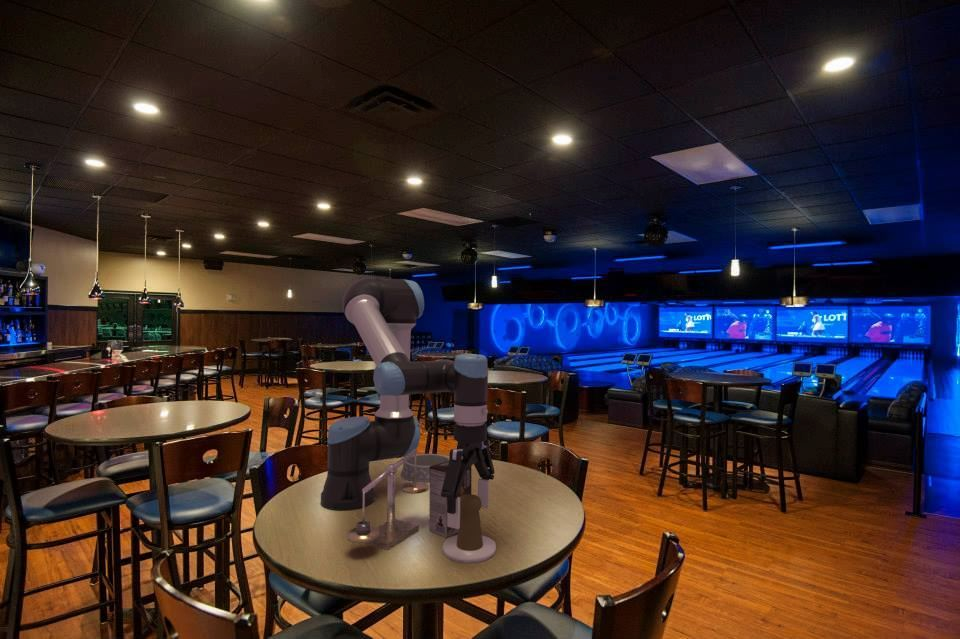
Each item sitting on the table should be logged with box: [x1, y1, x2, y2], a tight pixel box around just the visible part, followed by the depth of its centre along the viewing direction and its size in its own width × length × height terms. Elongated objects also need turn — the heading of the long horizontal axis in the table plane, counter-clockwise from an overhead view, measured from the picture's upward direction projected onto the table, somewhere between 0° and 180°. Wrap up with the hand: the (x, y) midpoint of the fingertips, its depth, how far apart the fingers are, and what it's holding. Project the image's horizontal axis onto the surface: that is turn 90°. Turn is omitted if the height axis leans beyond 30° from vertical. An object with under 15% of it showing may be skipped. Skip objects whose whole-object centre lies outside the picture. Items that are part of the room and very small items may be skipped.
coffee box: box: [428, 460, 472, 538], centre depth 124 cm, size 9×6×16 cm
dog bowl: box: [400, 453, 449, 484], centre depth 169 cm, size 17×18×5 cm
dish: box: [442, 534, 497, 564], centre depth 112 cm, size 12×12×1 cm
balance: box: [346, 448, 430, 551], centre depth 119 cm, size 8×26×19 cm, turn 151°
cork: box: [456, 493, 483, 551], centre depth 112 cm, size 6×6×11 cm
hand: (469, 516), depth 112 cm, fingers open, 13 cm apart
